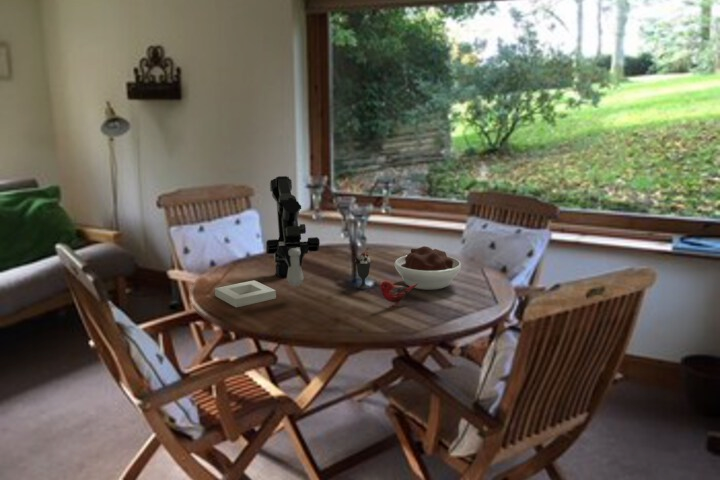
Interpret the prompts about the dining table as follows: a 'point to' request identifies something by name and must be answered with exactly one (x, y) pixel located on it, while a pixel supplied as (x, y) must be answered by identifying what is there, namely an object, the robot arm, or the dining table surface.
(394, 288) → the decorative bird figurine
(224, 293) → the grey block
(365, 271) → the sundae
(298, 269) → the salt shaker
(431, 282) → the bowl of chocolate pudding
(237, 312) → the dining table surface
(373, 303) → the dining table surface
